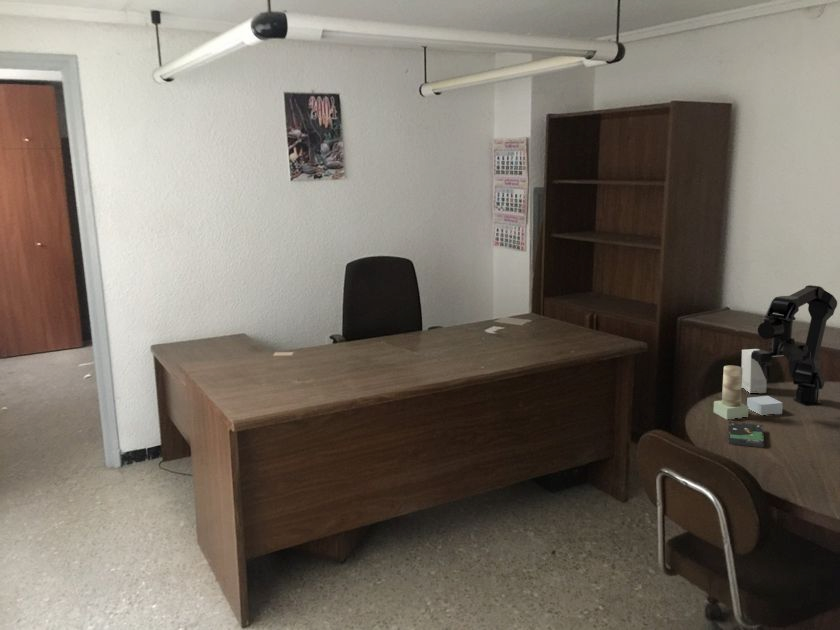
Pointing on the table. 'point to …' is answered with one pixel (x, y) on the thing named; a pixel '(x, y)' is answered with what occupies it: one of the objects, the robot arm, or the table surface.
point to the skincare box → (752, 374)
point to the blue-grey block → (765, 405)
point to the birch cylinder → (732, 386)
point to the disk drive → (746, 434)
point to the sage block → (730, 410)
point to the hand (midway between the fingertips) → (779, 378)
